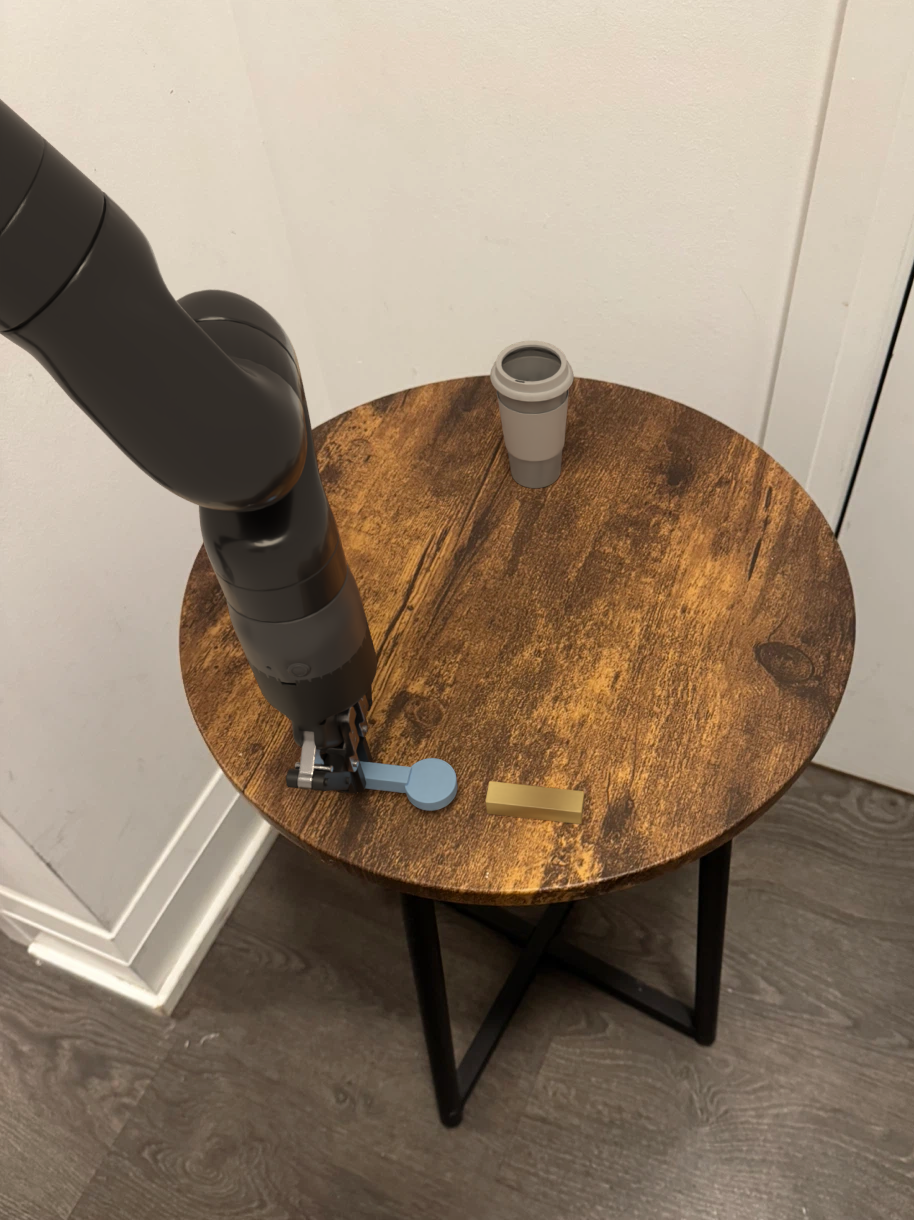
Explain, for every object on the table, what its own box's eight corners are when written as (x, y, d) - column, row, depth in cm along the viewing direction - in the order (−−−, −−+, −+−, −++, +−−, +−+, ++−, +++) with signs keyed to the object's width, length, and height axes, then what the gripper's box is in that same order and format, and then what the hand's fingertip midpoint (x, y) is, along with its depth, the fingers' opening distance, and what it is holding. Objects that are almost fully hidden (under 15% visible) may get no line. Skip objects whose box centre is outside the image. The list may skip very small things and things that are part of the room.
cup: (487, 486, 96) (476, 377, 86) (513, 440, 99) (506, 330, 89) (559, 503, 94) (557, 395, 84) (583, 456, 97) (584, 346, 88)
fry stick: (486, 814, 76) (485, 801, 75) (490, 793, 77) (489, 780, 76) (581, 824, 75) (581, 812, 74) (584, 803, 76) (584, 791, 75)
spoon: (299, 795, 76) (294, 784, 74) (313, 751, 78) (308, 740, 77) (452, 813, 75) (450, 803, 74) (461, 769, 77) (460, 757, 76)
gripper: (274, 538, 66) (329, 696, 80) (206, 713, 58) (280, 853, 73) (389, 548, 65) (423, 706, 80) (335, 727, 58) (384, 865, 72)
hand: (354, 776), depth 76 cm, fingers closed on spoon, 1 cm apart
